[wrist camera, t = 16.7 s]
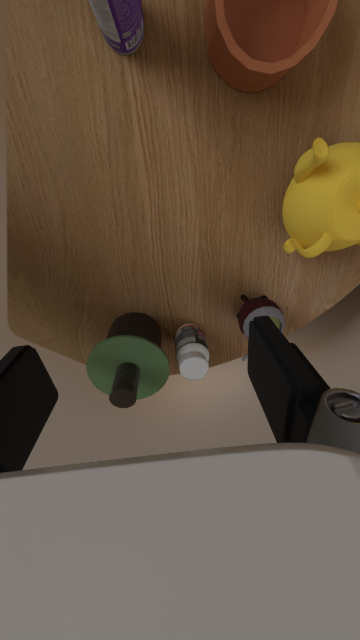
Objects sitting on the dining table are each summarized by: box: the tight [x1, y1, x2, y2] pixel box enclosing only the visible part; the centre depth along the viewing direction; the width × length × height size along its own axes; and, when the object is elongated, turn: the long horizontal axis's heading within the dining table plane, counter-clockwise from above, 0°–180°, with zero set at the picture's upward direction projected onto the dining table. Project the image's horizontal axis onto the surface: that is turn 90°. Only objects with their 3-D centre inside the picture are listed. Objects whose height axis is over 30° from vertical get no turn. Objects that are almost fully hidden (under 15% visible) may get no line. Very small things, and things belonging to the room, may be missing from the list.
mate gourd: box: [237, 294, 285, 361], centre depth 37 cm, size 8×8×15 cm
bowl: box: [204, 0, 338, 92], centre depth 24 cm, size 12×12×6 cm
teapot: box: [282, 138, 360, 258], centre depth 31 cm, size 20×15×12 cm
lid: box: [86, 335, 169, 408], centre depth 35 cm, size 13×13×7 cm
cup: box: [106, 313, 161, 349], centre depth 42 cm, size 10×10×9 cm
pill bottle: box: [175, 323, 209, 380], centre depth 42 cm, size 6×6×10 cm
